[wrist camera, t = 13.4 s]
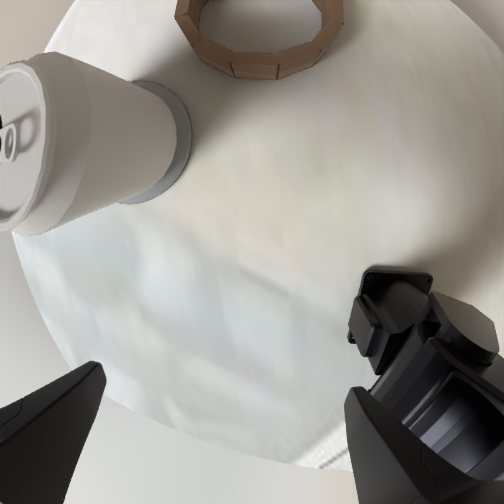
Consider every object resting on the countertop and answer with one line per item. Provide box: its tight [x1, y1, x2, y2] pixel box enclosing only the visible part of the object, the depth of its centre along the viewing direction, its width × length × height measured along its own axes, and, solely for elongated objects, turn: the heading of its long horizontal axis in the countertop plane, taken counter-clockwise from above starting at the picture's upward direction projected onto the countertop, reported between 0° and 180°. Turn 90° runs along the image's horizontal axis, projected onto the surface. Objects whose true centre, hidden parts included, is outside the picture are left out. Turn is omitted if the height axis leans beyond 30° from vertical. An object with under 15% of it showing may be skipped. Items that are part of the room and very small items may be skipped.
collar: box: [174, 0, 344, 80], centre depth 13 cm, size 10×10×3 cm
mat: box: [117, 81, 192, 204], centre depth 17 cm, size 9×9×1 cm
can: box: [0, 52, 177, 236], centre depth 11 cm, size 8×8×12 cm
